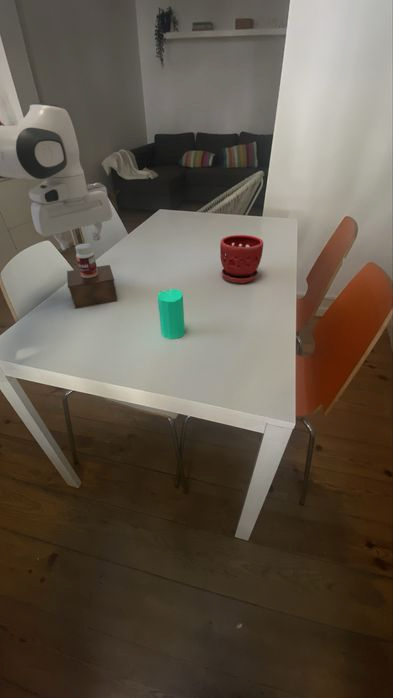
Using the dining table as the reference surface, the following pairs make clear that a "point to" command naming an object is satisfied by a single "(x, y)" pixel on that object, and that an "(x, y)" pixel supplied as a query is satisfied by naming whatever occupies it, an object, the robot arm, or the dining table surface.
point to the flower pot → (240, 257)
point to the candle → (171, 313)
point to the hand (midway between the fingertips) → (81, 244)
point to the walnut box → (92, 287)
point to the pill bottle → (86, 261)
